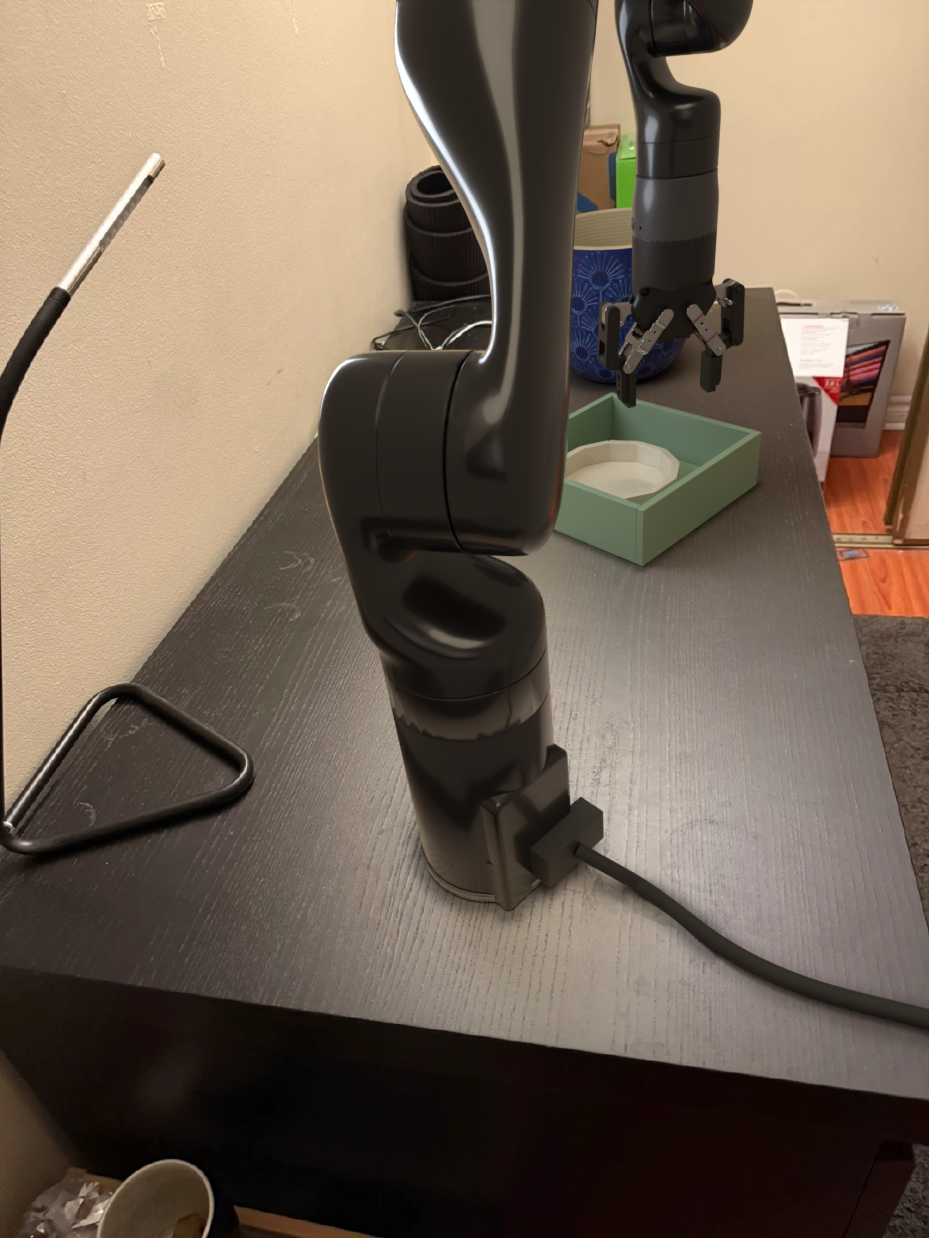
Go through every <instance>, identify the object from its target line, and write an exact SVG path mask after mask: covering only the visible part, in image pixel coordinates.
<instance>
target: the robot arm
mask: <svg viewBox="0 0 929 1238" xmlns="http://www.w3.org/2000/svg"><path fill="white" fill-rule="evenodd" d="M599 3H600V0H395V10H394V21H393V53H394V62H395V67H396V71H397V76H398V80H399V83H400V87H401V89H402V91H403V94H404V97H405V99H406V102H407V104H408V106H409V109H410V111H411V113H412V116H413V118H414V120H415V121H416V124H417V125H418V127H419V129H420V131H421V133H422V135H423V138H424V140H425V141H426V143H427V144H428V146H429V148H430V150H431V152H432V154H433V156H434V157H435V160H436V161H437V163H438V164H439V166H440V168H441V170H442V172H443V173H444V175H445V176H446V179H447V180H448V182H449V184H450V185H451V187H452V189H453V190H454V192H455V194H456V197H457V198H458V200H459V202H460V204H461V206H462V208H463V209H464V211H465V213H466V216H467V218H468V221H469V222H470V225H471V228H472V230H473V233H474V235H475V238H476V240H477V243H478V245H479V248H480V250H481V254H482V256H483V259H484V262H485V266H486V270H487V274H488V280H489V289H490V297H491V329H490V333H491V334H490V338H489V342H488V346H487V348H486V349H483V348H481V349H473V348H470V349H469V348H467V349H462V348H461V349H390V350H389V349H388V350H387V349H385V350H384V349H383V350H369V351H363V352H358V353H355V354H353V355H351V356H349V357H347V358H345V359H344V360H343V361H341V362H340V363H339V364H338V365H337V367H335V369H334V370H333V371H332V373H331V374H330V376H329V378H328V380H327V383H326V385H325V388H324V389H323V392H322V396H321V400H320V405H319V411H318V420H317V434H316V435H317V436H316V437H317V438H316V439H317V454H318V455H317V456H318V457H317V458H318V466H319V472H320V479H321V484H322V489H323V494H324V499H325V503H326V507H327V510H328V514H329V518H330V522H331V525H332V529H333V532H334V534H335V538H336V541H337V545H338V548H339V551H340V554H341V557H342V560H343V563H344V567H345V570H346V573H347V577H348V580H349V583H350V586H351V590H352V594H353V596H354V600H355V604H356V607H357V611H358V615H359V618H360V621H361V624H362V627H363V629H364V631H365V633H366V635H367V637H368V639H369V640H370V642H371V643H372V644H373V646H374V647H375V648H376V649H377V652H378V655H379V656H378V657H379V660H380V663H381V668H382V671H383V672H382V673H383V677H384V680H385V685H386V689H387V694H388V699H389V705H390V707H391V712H392V717H393V718H392V719H393V722H394V727H395V731H396V735H397V740H398V744H399V749H400V753H401V757H402V763H403V766H404V772H405V776H406V780H407V784H408V789H409V792H410V793H409V794H410V798H411V802H412V806H413V811H414V816H415V821H416V823H417V827H418V828H417V829H418V833H419V837H420V844H421V846H420V847H421V852H422V857H423V861H424V865H425V867H426V869H427V870H428V871H427V872H429V874H430V875H431V876H432V878H433V879H434V881H436V882H437V884H439V886H440V887H442V888H443V889H444V890H446V891H448V892H449V893H452V894H453V895H455V896H457V897H460V898H463V899H466V900H470V901H475V902H483V903H485V902H487V903H496V904H498V905H500V906H501V907H502V908H503V909H504V910H506V911H511V910H513V909H514V908H515V907H516V906H518V904H519V903H520V902H522V901H523V900H524V899H525V898H526V897H527V896H528V895H529V894H530V893H531V892H533V890H535V889H536V888H537V887H538V886H540V885H541V884H542V883H543V884H544V885H545V886H547V888H549V889H551V888H552V887H553V886H554V885H555V884H556V883H557V882H559V881H560V880H561V879H562V878H563V877H564V876H565V875H566V874H567V873H568V872H569V871H570V870H571V869H572V868H573V867H575V865H576V864H578V863H579V862H580V861H581V862H583V863H585V864H586V865H588V866H590V867H592V868H593V869H596V870H597V871H599V872H601V873H602V874H604V875H606V876H608V877H609V878H612V879H613V880H615V881H617V882H619V883H620V884H622V885H624V886H626V887H627V888H630V889H631V890H633V891H634V892H636V893H637V894H639V895H640V896H642V897H643V898H645V899H646V900H647V901H649V902H650V903H652V904H653V905H655V906H657V907H658V908H659V909H660V910H662V911H663V912H665V913H666V914H668V916H670V917H671V918H672V919H674V920H675V921H676V922H677V923H678V924H680V925H681V926H683V927H684V928H685V929H686V930H687V931H689V932H690V933H691V934H692V935H694V936H695V937H696V938H697V939H699V940H700V941H701V942H702V943H704V944H705V945H707V946H708V947H709V948H711V949H712V950H713V951H715V952H716V953H718V954H720V955H721V956H723V957H724V958H726V959H727V960H730V961H731V962H733V963H734V964H736V965H738V966H739V967H742V968H743V969H745V970H747V971H749V972H751V973H753V974H754V975H757V976H758V977H761V978H763V979H765V980H767V981H770V982H772V983H774V984H777V985H778V986H781V987H783V988H786V989H788V990H790V991H794V992H796V993H799V994H802V995H805V996H807V997H811V998H814V999H816V1000H819V1001H822V1002H825V1003H829V1004H833V1005H835V1006H839V1007H843V1008H846V1009H851V1010H854V1011H857V1012H861V1013H862V1012H863V1013H867V1014H870V1015H874V1016H877V1017H881V1018H886V1019H889V1020H894V1021H897V1022H902V1023H905V1024H910V1025H914V1026H918V1027H922V1028H925V1029H929V1008H926V1007H923V1006H919V1005H915V1004H910V1003H907V1002H902V1001H898V1000H894V999H891V998H886V997H883V996H878V995H873V994H870V993H866V992H863V991H857V990H854V989H849V988H847V987H846V988H845V987H842V986H839V985H836V984H831V983H827V982H824V981H821V980H818V979H815V978H812V977H809V976H806V975H803V974H800V973H798V972H795V971H794V970H790V969H787V968H785V967H783V966H781V965H779V964H776V963H774V962H772V961H770V960H768V959H765V958H763V957H761V956H759V955H757V954H755V953H753V952H751V951H750V950H747V949H745V948H743V947H742V946H740V945H738V944H737V943H735V942H733V941H732V940H730V939H729V938H727V937H726V936H724V935H723V934H721V933H719V932H718V931H716V930H715V929H714V928H712V927H711V926H709V925H708V924H707V923H705V922H704V921H703V920H701V919H700V918H699V917H697V916H696V915H695V914H694V913H692V912H691V911H689V910H688V909H687V908H686V907H685V906H683V905H681V903H679V902H678V901H676V900H675V899H674V898H673V897H671V896H670V895H669V894H667V893H665V892H664V891H663V890H661V888H659V887H658V886H656V885H655V884H653V883H652V882H650V881H649V880H647V879H645V878H644V877H642V876H641V875H640V874H637V873H636V872H634V871H632V870H630V869H629V868H626V867H625V866H623V865H621V864H620V863H618V862H616V861H615V860H612V859H611V858H609V857H607V856H606V855H603V854H602V853H599V851H596V850H595V849H593V848H594V847H596V846H597V844H599V843H600V842H601V841H602V840H603V839H604V838H605V833H604V831H605V830H604V829H605V828H604V811H603V810H602V809H601V808H599V807H598V806H596V805H594V804H593V803H592V802H590V801H588V800H587V799H585V797H583V796H579V797H578V798H577V799H576V800H574V801H573V803H571V788H570V787H571V786H570V771H569V770H570V769H569V755H568V751H567V750H566V749H565V748H562V747H561V746H560V745H558V744H556V743H555V735H554V734H555V733H554V719H553V706H552V705H553V704H552V691H551V674H550V673H551V672H550V659H549V658H550V657H549V644H548V627H547V616H546V615H547V614H546V607H545V603H544V600H543V596H542V594H541V591H540V590H539V588H538V586H537V585H536V584H535V582H534V581H533V580H532V578H530V577H529V576H528V575H527V574H526V573H525V572H523V570H521V569H519V568H518V567H516V566H515V565H513V564H511V563H509V562H507V561H506V560H503V559H500V558H499V557H512V558H513V557H514V558H516V557H517V558H518V557H528V556H532V555H534V554H536V553H537V552H539V551H541V550H542V549H543V547H545V545H546V544H547V543H548V541H549V539H550V538H551V536H552V534H553V532H554V531H555V530H554V527H555V525H556V522H557V518H558V515H559V511H560V507H561V503H562V497H563V490H564V484H565V474H566V465H567V449H568V427H569V415H570V397H571V395H570V394H571V369H570V364H571V327H572V293H573V261H574V238H575V220H576V215H577V208H578V207H577V206H578V197H579V196H578V194H579V184H580V175H581V167H582V166H581V165H582V155H583V148H584V147H583V146H584V138H585V127H586V121H587V120H586V119H587V110H588V103H589V94H590V86H591V80H592V79H591V77H592V71H593V60H594V54H595V47H596V45H595V44H596V37H597V27H598V25H597V24H598V16H599V15H598V14H599ZM753 7H754V0H613V19H614V29H615V34H616V40H617V42H618V47H619V50H620V51H619V52H620V55H621V58H622V62H623V66H624V69H625V74H626V78H627V83H628V87H629V92H630V98H631V103H632V109H633V114H634V123H635V170H634V171H635V172H634V173H635V175H634V176H635V177H634V187H633V194H632V205H631V207H632V219H631V228H632V288H633V289H632V294H631V297H630V299H629V301H628V302H622V303H614V304H612V303H611V302H609V301H603V302H602V303H601V304H600V306H599V325H598V349H597V359H598V361H599V362H600V363H601V364H602V365H603V366H604V367H606V368H607V369H608V370H616V383H615V384H616V388H615V389H616V391H615V393H616V395H617V397H618V399H619V400H620V401H621V402H622V403H623V404H624V405H625V406H626V407H627V408H633V407H636V399H637V381H636V372H635V371H634V369H635V368H636V366H637V365H638V363H639V362H640V360H641V359H642V357H643V356H644V355H645V354H647V353H648V352H649V351H650V350H651V348H652V346H653V345H654V343H655V342H658V343H665V342H669V341H671V340H673V339H686V338H687V339H690V338H691V336H692V335H695V337H696V338H697V339H698V341H700V343H701V344H702V346H703V347H704V350H702V351H701V355H700V371H699V372H700V373H699V386H700V388H701V389H702V390H703V391H704V392H705V393H708V394H709V393H713V392H716V389H717V386H719V385H720V383H721V381H722V370H723V369H722V368H723V357H724V354H725V353H726V351H727V350H728V349H730V348H732V347H740V346H741V345H742V344H743V342H744V340H745V339H744V334H745V302H746V301H745V300H746V287H745V285H744V284H742V283H741V282H739V281H737V280H734V279H732V278H730V277H726V278H725V279H723V281H722V282H721V283H719V284H715V285H714V282H713V280H714V277H715V276H714V275H715V270H716V258H717V257H716V256H717V239H718V237H717V236H718V224H719V223H718V222H719V207H720V185H719V168H718V167H719V157H720V139H721V125H722V104H721V100H720V97H719V95H718V94H717V93H716V92H714V91H712V90H709V89H706V88H703V87H702V88H701V87H696V86H691V85H687V84H684V83H681V82H680V81H678V80H677V79H676V78H675V77H674V75H673V72H671V71H672V70H671V69H670V67H669V64H668V60H667V58H670V57H679V56H692V55H704V54H713V53H716V52H720V51H723V50H726V49H727V48H729V47H730V46H731V45H733V44H734V43H736V41H737V40H738V38H739V37H740V36H741V34H742V33H743V32H744V30H745V28H746V26H747V25H748V23H749V20H750V18H751V14H752V10H753ZM715 302H716V303H717V304H718V305H719V306H720V332H717V331H716V329H715V328H714V326H713V325H712V323H711V322H710V321H709V320H708V318H707V315H708V313H709V312H710V310H711V308H712V307H713V305H714V304H715ZM628 315H631V317H632V318H633V319H634V321H635V323H634V324H633V326H632V328H631V329H630V331H629V332H628V334H627V335H626V338H625V343H624V345H623V346H622V348H621V349H620V351H619V352H618V349H619V330H620V327H622V326H623V325H624V323H625V319H626V317H627V316H628ZM643 333H644V335H643ZM642 335H643V337H642ZM641 337H642V338H641ZM687 339H686V340H687Z"/></svg>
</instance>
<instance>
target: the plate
mask: <svg viewBox="0 0 929 1238" xmlns="http://www.w3.org/2000/svg"><path fill="white" fill-rule="evenodd" d="M679 474H680V462H679V461H678V460H677V459H676V458H675V457H674V456H673V455H672V454H671V453H670V452H669V451H668V450H667V449H665V448H662V447H658V446H655V445H652V444H648V443H645V442H642V441H641V442H639V441H622V440H610V441H608V440H607V441H602V442H598V443H593V444H588V445H584V446H580V447H577V448H575V449H574V450H572V451H570V452H568V453H567V465H566V474H565V478H568V479H570V480H573V481H576V482H579V483H581V484H584V485H587V486H590V487H593V488H595V489H598V490H601V491H604V492H606V493H609V494H612V495H615V496H618V497H620V498H623V499H626V500H629V501H631V502H634V503H637V504H640V505H643V504H644V503H646V502H648V501H649V500H651V499H652V498H654V497H655V496H657V495H658V494H660V493H661V492H663V491H664V490H666V489H667V488H669V487H670V486H672V485H673V484H675V483H676V482H678V481H679Z"/></svg>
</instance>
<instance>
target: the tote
mask: <svg viewBox="0 0 929 1238" xmlns="http://www.w3.org/2000/svg"><path fill="white" fill-rule="evenodd" d="M762 433H763V432H762V431H760V430H756V429H752V428H748V427H744V426H740V425H737V424H734V423H729V422H725V421H721V420H719V419H714V418H710V417H706V416H702V415H699V414H695V413H692V412H687V411H684V410H679V409H677V408H672V407H668V406H664V405H661V404H657V403H653V402H649V401H647V400H646V401H645V400H641V399H639V398H636V407H633V408H627V407H626V406H625V405H624V404H623V403H622V402H621V401H620V400H619V399H618V397H617V395H616V392H612V391H611V392H608V393H607V394H604V395H602V396H601V397H599V398H597V399H596V400H594V401H592V402H590V403H588V404H586V405H584V406H582V407H581V408H579V409H577V410H575V411H574V412H572V413H569V427H568V449H567V453H568V452H570V451H572V450H574V449H575V448H577V447H580V446H584V445H588V444H593V443H598V442H602V441H607V440H608V441H610V440H622V441H639V442H641V441H642V442H645V443H648V444H652V445H655V446H658V447H662V448H665V449H667V450H668V451H669V452H670V453H671V454H672V455H673V456H674V457H675V458H676V459H677V460H678V461H679V462H680V474H679V481H678V482H676V483H675V484H673V485H672V486H670V487H669V488H667V489H666V490H664V491H663V492H661V493H660V494H658V495H657V496H655V497H654V498H652V499H651V500H649V501H648V502H646V503H644V504H643V505H640V504H637V503H634V502H631V501H629V500H626V499H623V498H620V497H618V496H615V495H612V494H609V493H606V492H604V491H601V490H598V489H595V488H593V487H590V486H587V485H584V484H581V483H579V482H576V481H573V480H570V479H568V478H565V484H564V490H563V497H562V503H561V507H560V511H559V515H558V518H557V522H556V525H555V527H554V530H553V531H556V532H558V533H561V534H564V535H565V536H568V537H571V538H573V539H575V540H577V541H581V542H583V543H585V544H587V545H590V546H592V547H595V548H597V549H600V550H602V551H605V552H607V553H609V554H611V555H614V556H616V557H619V558H622V559H623V560H625V561H628V562H631V563H633V564H635V565H638V566H639V567H640V566H641V567H644V566H645V565H647V564H648V563H650V562H651V561H652V560H654V559H655V558H657V557H658V556H660V555H661V554H662V553H664V552H665V551H666V550H667V549H669V548H671V547H672V546H673V545H675V544H676V543H678V542H679V541H680V540H681V539H683V538H684V537H685V536H687V535H688V534H690V533H691V532H693V531H694V530H695V529H697V528H698V527H700V526H701V525H703V524H704V523H706V522H707V521H708V520H709V519H711V518H712V517H714V516H715V515H716V514H718V513H719V512H720V511H722V510H723V509H724V508H726V507H727V506H729V505H730V504H731V503H733V502H734V501H736V500H738V498H740V497H742V496H743V495H745V493H747V492H748V491H750V490H751V489H752V488H754V487H755V486H756V485H757V481H758V472H759V471H758V470H759V461H760V454H761V453H760V452H761V444H762V435H763V434H762Z"/></svg>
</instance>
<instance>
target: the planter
mask: <svg viewBox="0 0 929 1238" xmlns="http://www.w3.org/2000/svg"><path fill="white" fill-rule="evenodd" d="M631 219H632V206H626V207H615V208H606V209H600V210H599V209H598V210H594V211H587V212H583V213H579V214H578V213H577V214H576V220H575V238H574V261H573V293H572V327H571V364H570V371H571V372H573V374H576V375H578V376H580V377H581V378H583V379H586V380H588V381H592V382H597V383H604V384H616V370H608V369H607V368H606V367H604V366H603V365H602V364H601V363H600V362H599V361H598V359H597V349H598V325H599V306H600V304H601V303H602V302H603V301H609V302H611V303H612V304H614V303H622V302H628V301H629V299H630V297H631V294H632V289H633V288H632V228H631ZM634 323H635V321H634V319H633V318H632V317H631V315H628V316H627V317H626V319H625V323H624V325H623V326H622V327H620V330H619V349H618V352H619V351H620V349H621V348H622V346H623V345H624V343H625V338H626V335H627V334H628V332H629V331H630V329H631V328H632V326H633V324H634ZM643 335H644V333H643ZM643 335H642V337H643ZM642 337H641V338H642ZM687 339H688V338H686V339H673V340H671V341H669V342H665V343H658V342H655V343H654V345H653V346H652V348H651V350H650V351H649V352H648V353H647V354H645V355H644V356H643V357H642V359H641V360H640V362H639V363H638V365H637V366H636V368H635V369H634V371H635V372H636V382H637V381H642V380H646V379H648V378H652V377H653V376H656V375H658V374H659V373H661V372H662V371H664V370H666V369H667V368H668V367H669V366H670V365H671V364H672V363H673V362H674V361H676V359H677V358H678V357H679V355H680V354H681V352H682V350H683V348H684V347H685V344H686V341H687Z"/></svg>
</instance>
